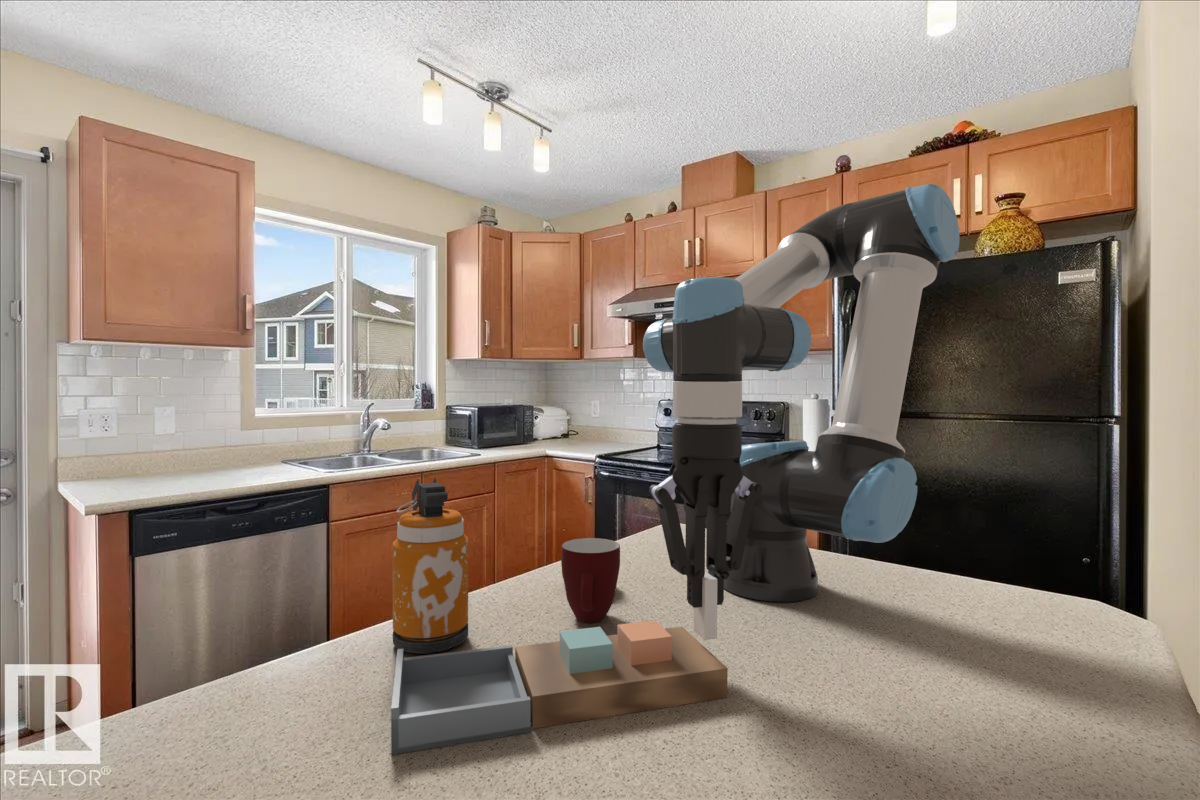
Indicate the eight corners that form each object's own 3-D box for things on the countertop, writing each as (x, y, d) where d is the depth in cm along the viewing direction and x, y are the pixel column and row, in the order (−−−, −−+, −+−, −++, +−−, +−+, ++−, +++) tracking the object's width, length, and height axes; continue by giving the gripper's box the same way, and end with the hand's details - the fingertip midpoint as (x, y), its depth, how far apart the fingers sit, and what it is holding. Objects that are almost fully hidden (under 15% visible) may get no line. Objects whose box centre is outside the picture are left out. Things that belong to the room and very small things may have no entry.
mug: (624, 636, 75) (624, 558, 75) (560, 638, 74) (561, 559, 74) (617, 606, 86) (617, 537, 85) (561, 607, 85) (561, 538, 85)
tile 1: (600, 649, 64) (600, 626, 64) (612, 668, 60) (612, 643, 60) (559, 654, 63) (559, 631, 63) (569, 674, 59) (569, 649, 59)
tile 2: (655, 642, 66) (655, 620, 66) (671, 660, 62) (671, 636, 62) (617, 647, 65) (617, 624, 65) (631, 665, 61) (631, 641, 61)
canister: (399, 665, 67) (398, 489, 67) (385, 629, 77) (385, 476, 77) (476, 649, 71) (476, 483, 71) (454, 617, 81) (454, 472, 81)
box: (511, 671, 65) (511, 636, 65) (530, 732, 54) (530, 688, 54) (397, 687, 62) (397, 649, 62) (391, 754, 51) (391, 708, 50)
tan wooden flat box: (682, 651, 71) (682, 626, 71) (727, 697, 60) (727, 668, 60) (515, 673, 65) (515, 646, 65) (532, 728, 55) (532, 696, 54)
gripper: (741, 419, 71) (740, 615, 71) (639, 420, 67) (637, 627, 67) (778, 422, 63) (775, 641, 64) (665, 423, 60) (663, 656, 60)
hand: (704, 634), depth 65 cm, fingers closed
